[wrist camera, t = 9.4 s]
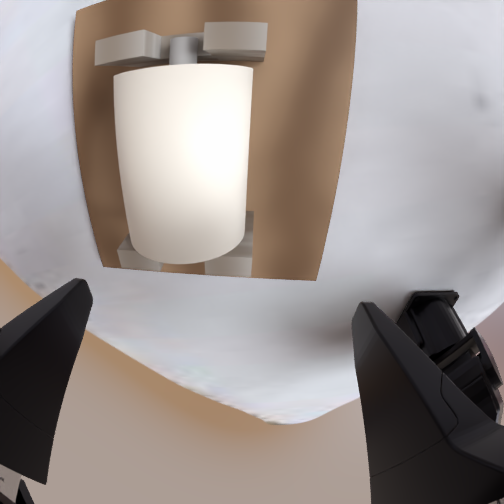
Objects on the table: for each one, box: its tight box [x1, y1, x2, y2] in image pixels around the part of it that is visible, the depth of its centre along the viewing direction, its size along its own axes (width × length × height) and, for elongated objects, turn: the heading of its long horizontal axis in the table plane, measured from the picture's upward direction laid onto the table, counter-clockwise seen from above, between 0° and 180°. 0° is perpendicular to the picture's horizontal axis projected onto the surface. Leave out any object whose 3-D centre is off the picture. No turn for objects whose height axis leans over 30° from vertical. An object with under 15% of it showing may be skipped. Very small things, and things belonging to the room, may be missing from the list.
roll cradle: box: [73, 0, 357, 281], centre depth 13 cm, size 17×20×6 cm
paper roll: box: [114, 37, 253, 264], centre depth 12 cm, size 6×11×6 cm, turn 177°
